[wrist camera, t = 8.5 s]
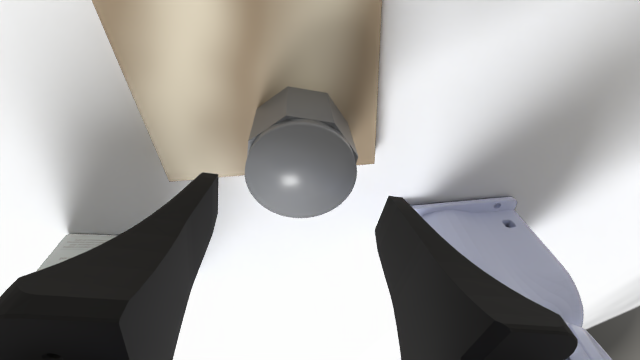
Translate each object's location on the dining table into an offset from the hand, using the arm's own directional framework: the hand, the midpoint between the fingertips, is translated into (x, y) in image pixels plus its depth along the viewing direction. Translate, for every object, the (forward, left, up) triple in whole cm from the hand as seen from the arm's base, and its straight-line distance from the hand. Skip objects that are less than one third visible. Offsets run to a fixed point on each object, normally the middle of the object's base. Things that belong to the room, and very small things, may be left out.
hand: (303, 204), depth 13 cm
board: (+2, -3, -7) cm, 8 cm away
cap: (0, 0, -6) cm, 6 cm away
